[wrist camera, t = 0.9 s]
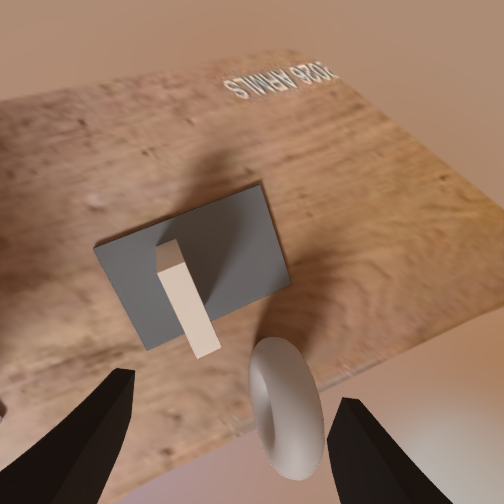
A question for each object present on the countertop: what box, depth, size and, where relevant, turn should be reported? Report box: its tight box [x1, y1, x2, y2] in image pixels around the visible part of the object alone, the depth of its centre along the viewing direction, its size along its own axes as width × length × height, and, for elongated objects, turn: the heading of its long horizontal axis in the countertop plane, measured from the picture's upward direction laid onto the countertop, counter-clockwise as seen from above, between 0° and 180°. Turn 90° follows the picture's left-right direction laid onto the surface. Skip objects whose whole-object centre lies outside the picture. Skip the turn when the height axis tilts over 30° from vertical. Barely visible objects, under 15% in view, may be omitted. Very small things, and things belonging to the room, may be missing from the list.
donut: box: [249, 337, 325, 480], centre depth 25 cm, size 10×4×10 cm, turn 179°
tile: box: [155, 239, 221, 359], centre depth 22 cm, size 2×6×6 cm, turn 17°
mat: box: [93, 184, 291, 351], centre depth 25 cm, size 13×9×1 cm
